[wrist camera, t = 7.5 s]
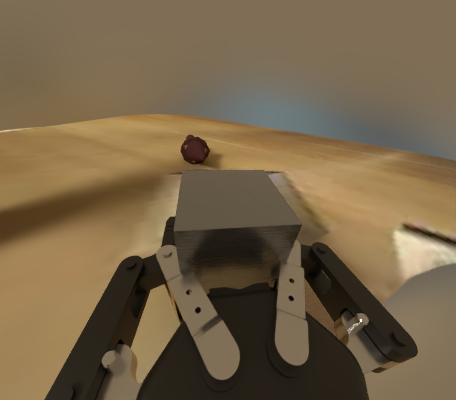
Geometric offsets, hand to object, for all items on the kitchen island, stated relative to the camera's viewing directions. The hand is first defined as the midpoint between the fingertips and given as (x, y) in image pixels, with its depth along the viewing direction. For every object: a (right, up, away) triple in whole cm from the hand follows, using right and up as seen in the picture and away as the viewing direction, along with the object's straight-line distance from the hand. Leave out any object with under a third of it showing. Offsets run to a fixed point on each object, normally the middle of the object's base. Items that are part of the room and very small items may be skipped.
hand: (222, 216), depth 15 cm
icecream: (-8, +11, +32) cm, 35 cm away
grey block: (0, -6, +2) cm, 6 cm away
